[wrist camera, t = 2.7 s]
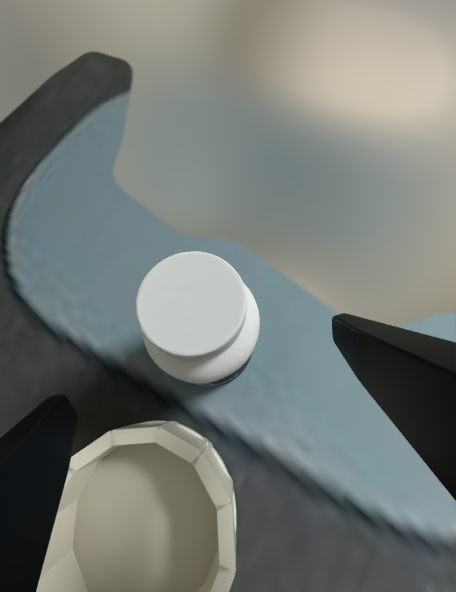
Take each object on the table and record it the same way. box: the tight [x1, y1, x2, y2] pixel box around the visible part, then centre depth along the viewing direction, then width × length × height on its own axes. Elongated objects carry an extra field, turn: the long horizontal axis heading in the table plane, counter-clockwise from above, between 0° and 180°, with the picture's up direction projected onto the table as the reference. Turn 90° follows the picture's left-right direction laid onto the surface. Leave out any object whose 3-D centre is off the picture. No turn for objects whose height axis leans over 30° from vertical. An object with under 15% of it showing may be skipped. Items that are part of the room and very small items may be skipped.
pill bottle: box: [136, 251, 260, 387], centre depth 14 cm, size 5×5×10 cm
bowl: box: [36, 420, 236, 592], centre depth 14 cm, size 10×10×4 cm
